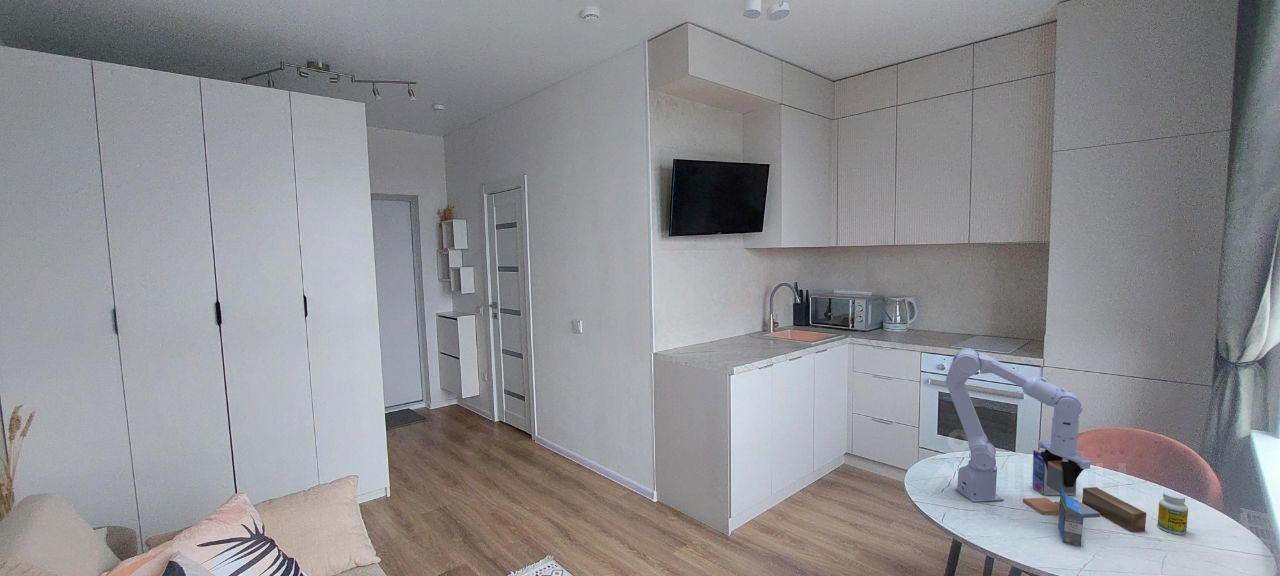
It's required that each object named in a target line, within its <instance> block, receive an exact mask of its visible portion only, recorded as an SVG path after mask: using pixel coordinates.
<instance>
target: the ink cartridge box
mask: <svg viewBox="0 0 1280 576" xmlns="http://www.w3.org/2000/svg"><path fill="white" fill-rule="evenodd" d="M1041 452H1045V449H1044V450H1043V449H1040V450H1039V449H1037V450H1036V449H1035V450H1033V453H1032V454H1033V457H1032V459H1033V460H1032V489H1034V490H1036V491H1037V492H1038V493H1039V494H1041V495H1043V496H1060V493H1059V492H1057V491H1056V490H1054V489H1052V488H1050V487H1049V486H1047V472H1048V471H1047V467H1046V464H1045V462H1044V460H1043V458H1042V456H1041V455H1040V454H1041ZM1062 460H1063V461H1065V462H1068V460H1066V459H1064V458H1063V459H1062ZM1077 480H1078V478H1077V479H1076V483H1077ZM1065 494H1066V495H1068V496H1076V495H1077V485H1076V486H1075V492H1070V493H1065Z"/></svg>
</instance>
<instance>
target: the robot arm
mask: <svg viewBox="0 0 1280 576" xmlns="http://www.w3.org/2000/svg"><path fill="white" fill-rule="evenodd" d="M979 370H980V372H979V373H980V374H981V375H983V374H985V375H986V374H993V375H995V376H996V377H997V376H998V377H999V378H1002V379H1004V380H1006V381H1008V382H1010V383H1013V384H1015V385H1017V386H1018V387H1020V388H1021V389H1022V391H1023V393H1024V394H1025V395H1026V396H1029V397H1031V398H1033V399H1034V400H1036V401H1038V402H1040V403H1042V404H1044V405H1046V406H1049V407H1053V416H1052V417H1051V419H1052V420H1051V435H1050V441H1047V440H1044V439H1043V440H1038V444H1037V447H1038V448H1040V449H1044V450H1045V452H1041V454H1040V455H1041V456H1042V458H1043V460H1044V462H1045V464H1046V467H1047V471H1048V461H1062V459H1063V458H1064V459H1066V460H1068V462H1061V466H1062V469H1063V474H1064V486H1065V487H1073V486H1074V483H1075V481H1076V479H1077V480H1078V477H1079V476H1080V474H1081V473H1082V472H1083V471H1084V470H1087V469H1088V470H1090V469H1091V461H1090V460H1088V459H1086V458H1085V457H1084V456H1082V455H1081V454H1080V451H1079V450H1078V439H1079V428H1080V421H1079V418H1080V414H1081V413H1082V411H1083V408H1082V404H1081V401H1080V400H1079V398H1078V396H1077V395H1076V394H1075V393H1074V392H1072V391H1071V390H1067V389H1065V388H1064V387H1058V386H1056V385H1054V384H1052V383H1051V382H1048V381H1047V379H1046V378H1045V377H1043V376H1040V377H1038V376H1036V375H1035V376H1034V375H1033V376H1026V375H1024V374H1022V373H1020V372H1018V371H1017V370H1015V369H1013V368H1011V367H1010V366H1008V365H1007V364H1004V363H1002V362H1000V361H999V360H997V359H995V358H993V357H992V356H989V355H987V354H985V353H983V352H978V351H977V350H975V349H973V348H969V347H966V348H962V349H960V350H959V351H958V352H956V354H955V355H954V356H953V357H952V361H951V363H950V366H949V369H948V371H947V375H946V377H945V385H946V387H947V390H948V392H949V394H950V398H951V400H952V402H953V405H954V408H955V410H956V413H957V415H958V417H959V421H960V423H961V425H962V428H963V431H964V433H965V436H966V438H967V444H968V447H969V450H970V456H969V457H970V458H969V459H970V460H968V463H967V464H966V465H964V466H961V467H959V468H958V471H957V486H956V487H955V490H956V491H957V490H958V492H959V493H960V494H962V495H963V496H965V497H966V498H967V499H968V500H970V501H971V502H973V503H974V502H975V503H976V502H995V501H997V502H998V501H1004V498H1003V497H1002V496H1000V495H999V494H997V476H998V467H997V459H996V453H997V451H996V448H995V446H994V445H993V443H991V442H990V440H989V439H988V436H987V435H986V433H985V431H984V429H983V427H982V425H981V422H980V419H979V416H978V414H977V412H976V408H975V407H974V404H973V401H972V399H971V396H970V394H969V391H968V388H967V386H966V382H967V381H968V379H970V377H971V376H973V375H975V374H977V373H978V371H979Z"/></svg>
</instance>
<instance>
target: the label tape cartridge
mask: <svg viewBox="0 0 1280 576" xmlns="http://www.w3.org/2000/svg"><path fill="white" fill-rule="evenodd" d="M1059 501H1060V507H1059V514H1058V523H1057V527H1058V530H1059V534H1060V537H1061V541H1062V543H1064V544H1065V543H1066V544H1070V545H1074V546H1078V547H1081V546H1082V542H1083V541H1082V538H1083V529H1084V528H1083V527H1084V518H1085V517H1084V515H1083V513H1082V511H1081V509H1080V506H1079V504H1078V502H1077V499H1075V498H1073V497H1072V496H1071V495H1066V494H1065V493H1064V490H1063V487H1062V485H1061V483H1060V495H1059Z"/></svg>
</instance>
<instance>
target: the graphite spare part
mask: <svg viewBox="0 0 1280 576" xmlns="http://www.w3.org/2000/svg"><path fill="white" fill-rule="evenodd" d="M1061 462H1065V461H1063V460H1062V461H1048V472H1047V486H1049V487H1050V488H1052V489H1054V490H1056V491H1057V492H1059V493H1060V483H1061V485H1062V487H1063V490H1064V493H1070V492H1075V486H1076V487H1077V482H1076V481H1075V483H1074V486H1073V487H1065V486H1064V474H1063V469H1062V466H1061Z"/></svg>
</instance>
